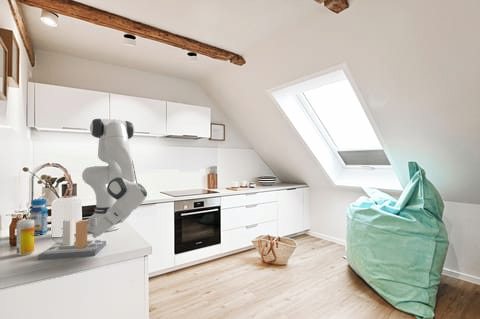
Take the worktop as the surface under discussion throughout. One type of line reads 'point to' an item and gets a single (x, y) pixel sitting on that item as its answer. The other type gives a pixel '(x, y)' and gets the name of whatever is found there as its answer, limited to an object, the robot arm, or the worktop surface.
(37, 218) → the blue bottle
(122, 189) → the robot arm
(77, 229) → the tan wooden block
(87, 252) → the gray compartment tray
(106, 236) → the worktop surface
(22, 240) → the yellow cylinder
